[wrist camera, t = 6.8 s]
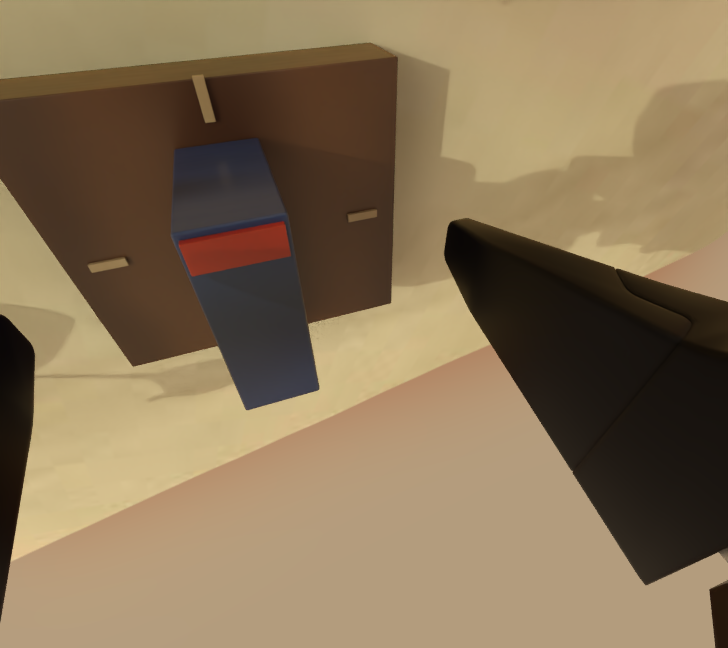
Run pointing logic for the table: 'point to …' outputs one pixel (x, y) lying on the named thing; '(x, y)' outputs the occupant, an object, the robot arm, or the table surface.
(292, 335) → the blue block
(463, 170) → the table surface
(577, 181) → the table surface
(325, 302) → the brown slab
